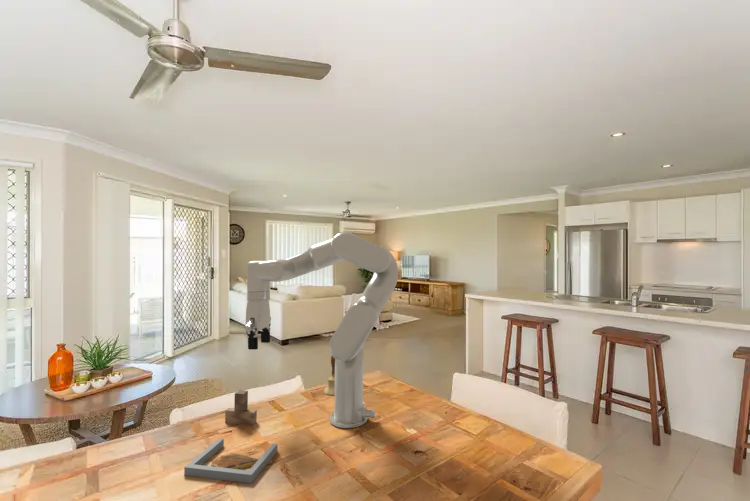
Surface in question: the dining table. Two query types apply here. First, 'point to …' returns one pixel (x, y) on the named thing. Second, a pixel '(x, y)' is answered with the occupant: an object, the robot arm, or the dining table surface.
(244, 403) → the brown wooden block
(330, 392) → the hand bell
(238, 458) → the shard
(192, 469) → the frame
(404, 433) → the dining table surface
